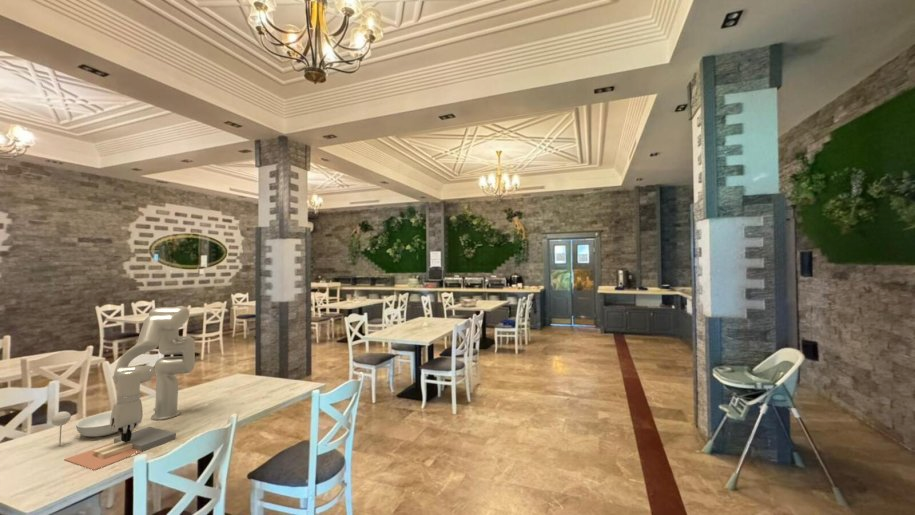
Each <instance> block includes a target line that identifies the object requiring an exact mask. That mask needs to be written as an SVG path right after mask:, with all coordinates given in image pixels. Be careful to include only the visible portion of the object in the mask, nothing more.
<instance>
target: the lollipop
mask: <svg viewBox="0 0 915 515" xmlns="http://www.w3.org/2000/svg"><path fill="white" fill-rule="evenodd" d="M71 418H72V415H71V413H70V412H68V411H59V412H57V413H55V414H54V415H53V416H52V418H51V424H53V425H54V426H56V427H58V426H59V440H58V447H61V445H62V444H61V442H62V426H63V425H66V424H68V423H69V422H70V421H71Z"/></svg>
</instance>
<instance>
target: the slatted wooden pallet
mask: <svg viewBox="0 0 915 515" xmlns="http://www.w3.org/2000/svg"><path fill="white" fill-rule="evenodd" d="M132 448H133V444H131V443H127V442H123V441H120V442H117V443H115V444H112V445H109V446H106V447H103V448H100V449H97V450H94V451H93V456H95V457H98V458H101V459H106V458H108V457H111V456H114V455H117V454H119V453H122V452H125V451H128V450H130V449H132Z"/></svg>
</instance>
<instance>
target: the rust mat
mask: <svg viewBox="0 0 915 515" xmlns="http://www.w3.org/2000/svg"><path fill="white" fill-rule="evenodd" d="M112 444H115V443H114V442H111V443H108V444H105V445H102V446H99V447H96V448H93V449H90V450H87V451H84V452H82V453H78V454H75V455H73V456H69V457H66V458H64V459H63V460H64V461H65V462H68V463H71V464H75V465H77V466H79V465H80V467H82V466H83V468H85V467H86V469H88V468H89V469H88V470H91V469H92V470H91V471H94V470H95V471H97V470H100V469H102V468H104V466H105V467H107V466H106V465H108V466H110V465H113V464H115V462H116V463H118V462H120V460H121V461H123V460H125V459H124V458H126V457H129V458H131V457H132V456H131V455H132V454H134V453H135V454H136V455H139V454H141V453H140V452H142V453H143V451H139V450H136V449H130V450H128V451H125V452H122V453H119V454H117V455H114V456H111V457H108V458H106V459H101V458H98V457H95V456H93V451H94V450H97V449H100V448H103V447H106V446H109V445H112ZM136 451H137V453H136ZM130 456H131V457H130ZM122 459H123V460H122ZM126 459H127V458H126ZM117 461H118V462H117ZM112 463H113V464H112ZM109 464H110V465H109ZM101 467H102V468H101ZM99 468H100V469H99ZM96 469H97V470H96Z"/></svg>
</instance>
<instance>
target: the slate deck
mask: <svg viewBox="0 0 915 515" xmlns="http://www.w3.org/2000/svg"><path fill="white" fill-rule="evenodd" d="M176 439H177V433H176V432H174V431H169V430H165V429H161V428H157V427H152V426H148V427H144V428H141V429H138V430H135V431H132V435H131V440H130V441H127V443H131V444H133V448H132V449H136V450H139V451H142V450H144V451H147V450H149V449H152V448H154V447H157V446H159V445H163V444H165V443H168V442H171V441H173V440H176ZM120 441H122V440H121V435H120V436H117V437H115V438H113V443H117V442H120ZM142 452H143V451H142Z"/></svg>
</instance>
